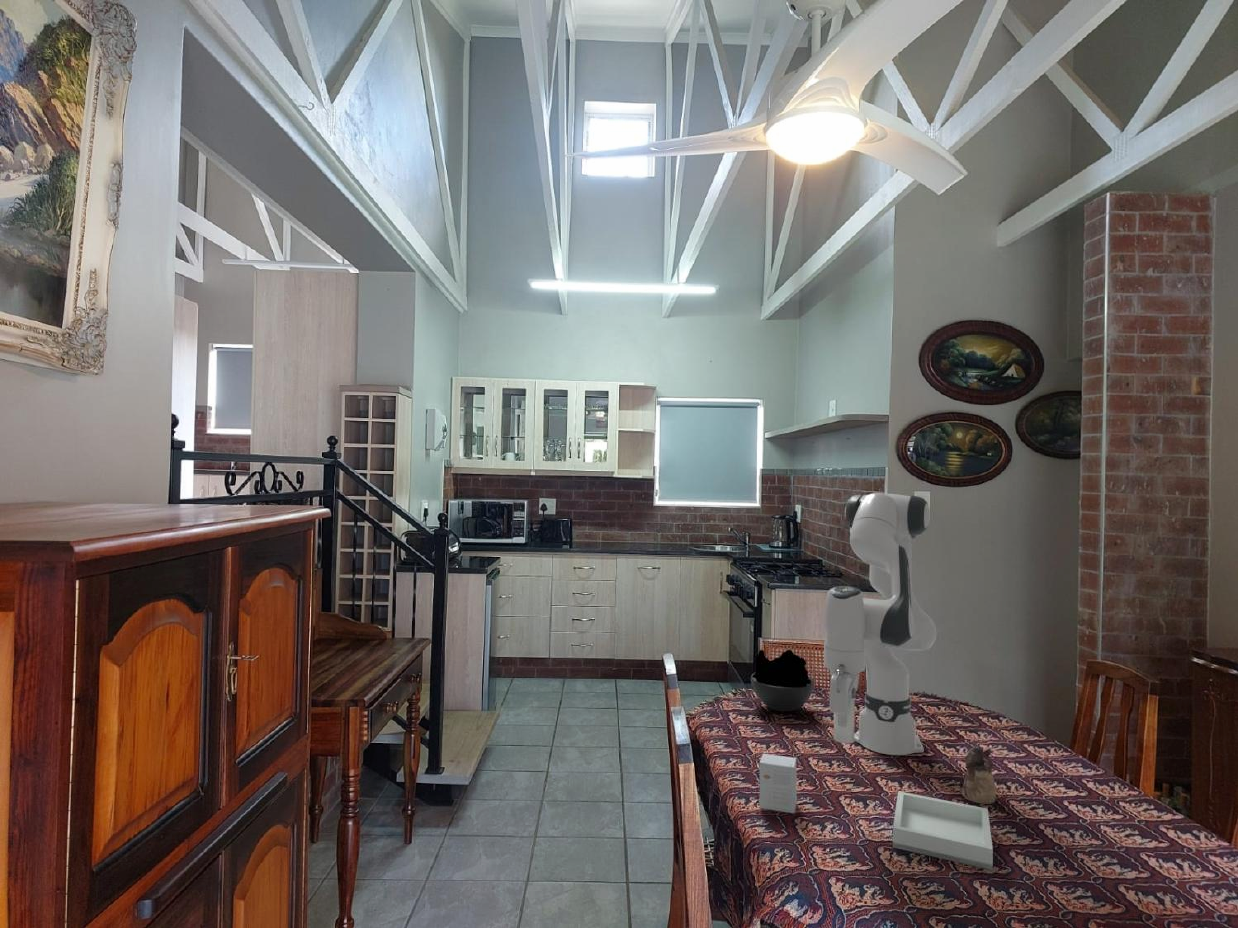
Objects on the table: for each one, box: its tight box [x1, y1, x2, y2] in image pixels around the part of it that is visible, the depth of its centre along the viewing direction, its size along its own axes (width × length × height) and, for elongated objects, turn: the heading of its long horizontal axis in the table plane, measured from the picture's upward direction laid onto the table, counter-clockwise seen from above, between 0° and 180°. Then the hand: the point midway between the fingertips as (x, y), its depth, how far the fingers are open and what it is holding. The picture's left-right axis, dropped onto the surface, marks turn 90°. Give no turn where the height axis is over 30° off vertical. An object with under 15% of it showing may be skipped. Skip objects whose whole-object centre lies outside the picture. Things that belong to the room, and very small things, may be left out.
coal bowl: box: [750, 649, 815, 712], centre depth 221 cm, size 20×20×19 cm
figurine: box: [961, 745, 997, 805], centre depth 162 cm, size 7×7×12 cm
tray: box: [892, 790, 994, 871], centre depth 144 cm, size 18×18×4 cm
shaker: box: [833, 687, 856, 745], centre depth 154 cm, size 5×5×12 cm
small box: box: [759, 753, 798, 814], centre depth 157 cm, size 8×6×10 cm
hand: (844, 721), depth 154 cm, fingers closed on shaker, 4 cm apart
